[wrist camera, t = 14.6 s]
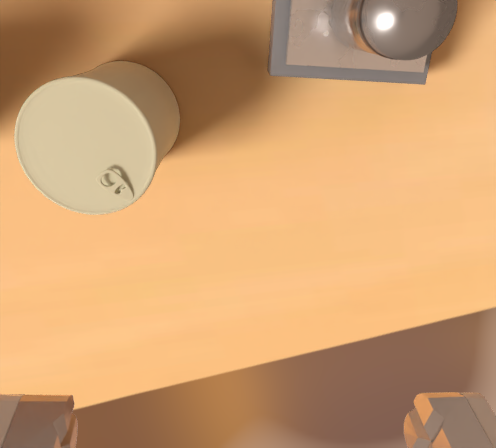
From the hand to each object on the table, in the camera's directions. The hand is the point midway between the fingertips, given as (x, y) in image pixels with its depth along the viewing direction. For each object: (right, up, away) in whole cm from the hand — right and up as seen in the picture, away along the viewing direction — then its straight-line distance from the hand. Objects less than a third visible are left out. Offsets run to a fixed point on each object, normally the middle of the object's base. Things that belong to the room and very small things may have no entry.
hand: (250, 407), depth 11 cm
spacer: (+8, +19, +21) cm, 29 cm away
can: (-11, +14, +29) cm, 34 cm away
